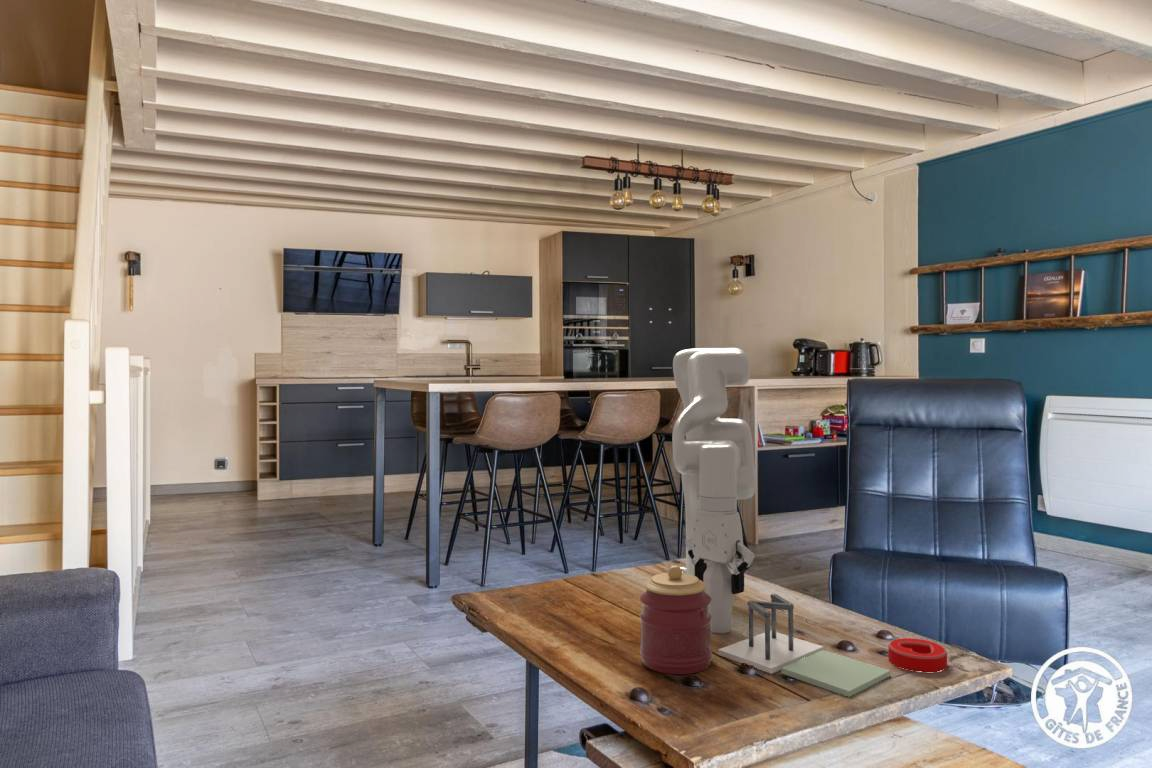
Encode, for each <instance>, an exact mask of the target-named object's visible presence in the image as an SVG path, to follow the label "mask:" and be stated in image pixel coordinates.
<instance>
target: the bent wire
mask: <svg viewBox="0 0 1152 768" xmlns="http://www.w3.org/2000/svg"><path fill="white" fill-rule="evenodd" d="M747 606H748V638H749V647H754V636H755V634H754V633H755V632H754V620H755V619H754V612H755V613H757V614H758V615H760V616H761V617H762V618H764V633H765V659H766V660H770V630H771V633H772V638H776V632H777V610H781V611H787V620H788V621H787V622H788V623H787V627H788V628H787V629H788V630H787V631H788V634H787V635H788V650H790V651H793V637H794V609H795V605H794V604H793V603H792V602H790V601H788V600H787V599H786V598H783V597H782V596H780V595H779V594H777V593H771V594H770V601H763V600H762V601H761V600H749V601H748V602H747ZM767 609H768V610H767Z"/></svg>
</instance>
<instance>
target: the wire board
mask: <svg viewBox="0 0 1152 768" xmlns="http://www.w3.org/2000/svg"><path fill="white" fill-rule="evenodd" d="M824 648H825V647H824V646H823V645H820V644H817V643H813V642H810V641H807V640H803V639H800V638H797V637H794V636H793V651H790V650H788V634H787V635H786V634H785V633H784V634H783V633H781V632H778V631H776V638H772V633H771V629H770V660H766V659H765V632H762V633H759V634H757V635H754V647H749V637H748V638H746V639H743V640H740V641H737V642H734V643H732V644H729V645H727V646H724V647H721V648H718V649H717V654H718V656H720V657H723V658H726V659H729V660H731V661H734V662H737V663H740V664H742V663H750V664H751V665H753V666H754V667H755V668H754V667H753V668H754V669H756V668H757V669H756V670H760V671H762V672H764V673H768V674H770V675H773V674H774V673H777V672H779V671H781V668H782V667H784V666H787V665H789V664H791V663H794V662H796V661H799V660H800V659H802V658H804V657H808V656H810V655H813V654H815V653H818V652H820V651H822V650H824Z"/></svg>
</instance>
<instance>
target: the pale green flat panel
mask: <svg viewBox="0 0 1152 768" xmlns="http://www.w3.org/2000/svg"><path fill="white" fill-rule="evenodd" d="M780 671H781V674H782V675H785V676H788V677H790V678H794V679H796V680H799V681H802V682H805V683H808V684H810V685H813V686H817V687H819V688H821V689H825V690H827V691H830V692H833V693H836V694H839V695H841V694H842V696H844V697H847V696H848V697H847V698H851V697H852V695H853V696H854V694H855V695H856V693H857V694H859V693H860V691H861V692H862V690H863V691H864V690H866V689H868V688H870V687H872V686H874V685H876V684H879V683H880V682H882V681H884V680H886V679H888V678H890V677H891V670H890V669H886V668H883V667H881V666H877V665H874V664H871V663H867V662H864V661H861V660H858V659H855V658H851V657H848V656H845V655H842V654H838V653H834V652H832V651H829V650H822V651H820V652H818V653H815V654H813V655H810V656H808V657H806V658H803V659H801V660H799V661H796V662H794V663H791V664H789V665H787V666H784V667H782V668H781V670H780ZM889 676H890V677H889ZM887 677H888V678H887ZM885 678H886V679H885ZM883 679H884V680H883ZM881 680H882V681H881ZM879 681H880V682H879ZM875 683H876V684H875ZM873 684H874V685H873ZM871 685H872V686H871ZM869 686H870V687H869ZM867 687H868V688H867ZM858 692H859V693H858ZM850 696H851V697H850Z"/></svg>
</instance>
